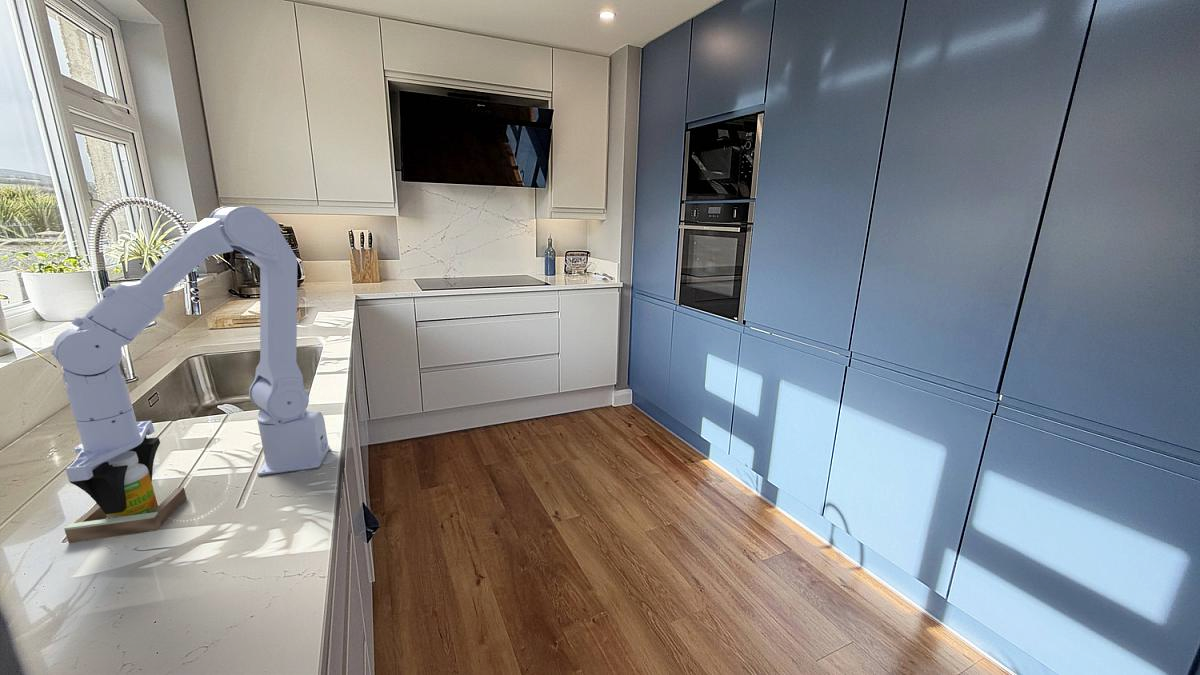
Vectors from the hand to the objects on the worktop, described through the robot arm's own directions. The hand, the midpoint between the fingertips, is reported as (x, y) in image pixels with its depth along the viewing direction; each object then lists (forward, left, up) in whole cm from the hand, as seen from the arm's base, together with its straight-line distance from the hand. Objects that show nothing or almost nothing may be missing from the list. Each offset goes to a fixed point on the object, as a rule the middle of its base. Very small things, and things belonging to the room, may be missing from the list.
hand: (129, 499), depth 71 cm
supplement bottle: (0, 0, -3) cm, 3 cm away
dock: (0, 0, -3) cm, 3 cm away
